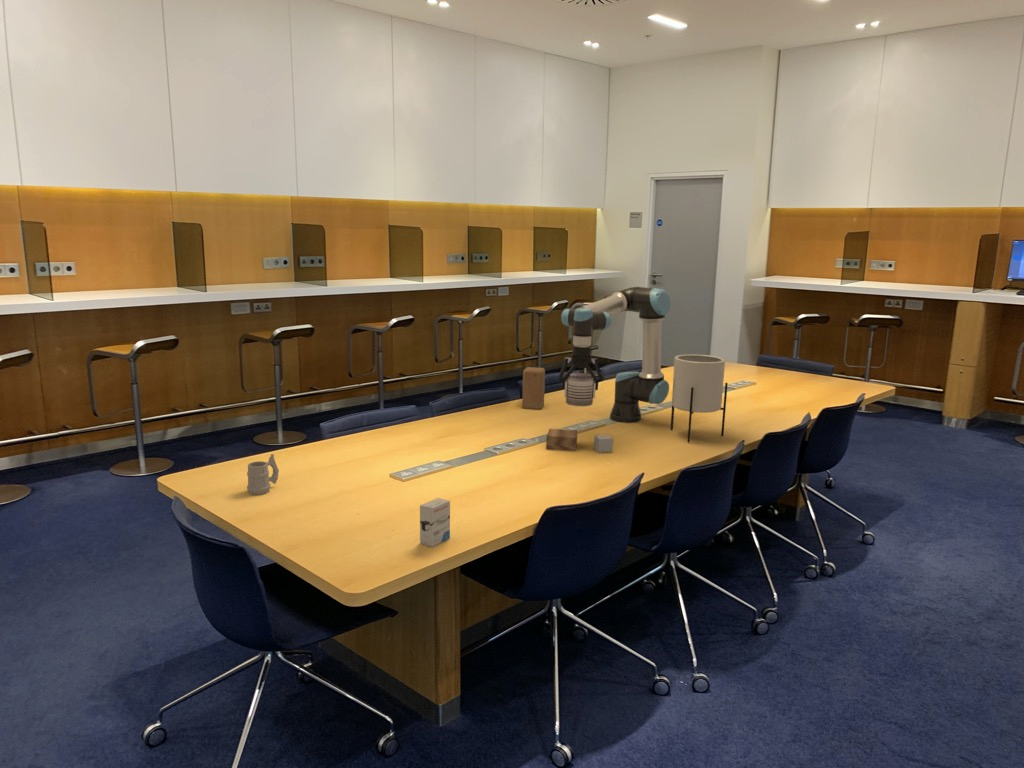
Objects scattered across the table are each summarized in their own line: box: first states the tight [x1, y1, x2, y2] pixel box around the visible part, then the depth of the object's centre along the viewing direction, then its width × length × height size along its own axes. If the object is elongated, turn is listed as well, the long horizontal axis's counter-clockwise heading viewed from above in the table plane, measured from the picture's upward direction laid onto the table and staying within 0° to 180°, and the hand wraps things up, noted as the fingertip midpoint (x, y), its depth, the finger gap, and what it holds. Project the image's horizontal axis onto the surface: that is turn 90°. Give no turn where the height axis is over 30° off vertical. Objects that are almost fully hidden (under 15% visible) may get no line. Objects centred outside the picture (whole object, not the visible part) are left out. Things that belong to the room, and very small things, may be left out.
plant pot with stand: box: [670, 353, 728, 442], centre depth 339 cm, size 24×24×36 cm
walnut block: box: [545, 428, 578, 452], centre depth 323 cm, size 12×12×6 cm
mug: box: [246, 453, 279, 496], centre depth 262 cm, size 8×12×12 cm, turn 143°
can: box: [565, 372, 595, 407], centre depth 321 cm, size 11×11×12 cm
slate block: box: [593, 434, 614, 454], centre depth 318 cm, size 6×6×6 cm
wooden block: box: [521, 366, 546, 410], centre depth 390 cm, size 10×10×20 cm
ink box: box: [419, 497, 451, 548], centre depth 223 cm, size 8×5×12 cm, turn 145°
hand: (579, 397), depth 321 cm, fingers closed on can, 11 cm apart
